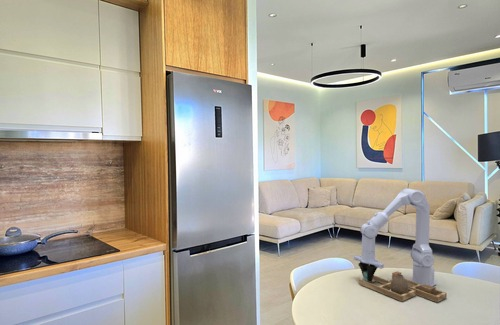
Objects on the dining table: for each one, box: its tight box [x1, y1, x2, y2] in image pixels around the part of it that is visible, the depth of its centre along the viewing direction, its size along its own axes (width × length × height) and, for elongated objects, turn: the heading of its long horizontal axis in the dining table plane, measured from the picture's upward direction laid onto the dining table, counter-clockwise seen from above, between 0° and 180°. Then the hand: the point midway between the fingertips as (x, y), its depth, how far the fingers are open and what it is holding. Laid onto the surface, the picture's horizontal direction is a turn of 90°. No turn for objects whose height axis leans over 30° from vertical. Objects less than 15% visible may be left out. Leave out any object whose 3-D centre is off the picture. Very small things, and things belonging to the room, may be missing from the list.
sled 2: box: [389, 270, 447, 303], centre depth 135 cm, size 8×20×5 cm, turn 33°
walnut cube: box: [421, 284, 437, 296], centre depth 131 cm, size 4×4×4 cm
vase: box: [390, 273, 409, 295], centre depth 131 cm, size 7×7×9 cm
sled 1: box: [358, 271, 417, 302], centre depth 136 cm, size 10×20×5 cm, turn 33°
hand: (367, 279), depth 144 cm, fingers closed on sled 1, 2 cm apart
